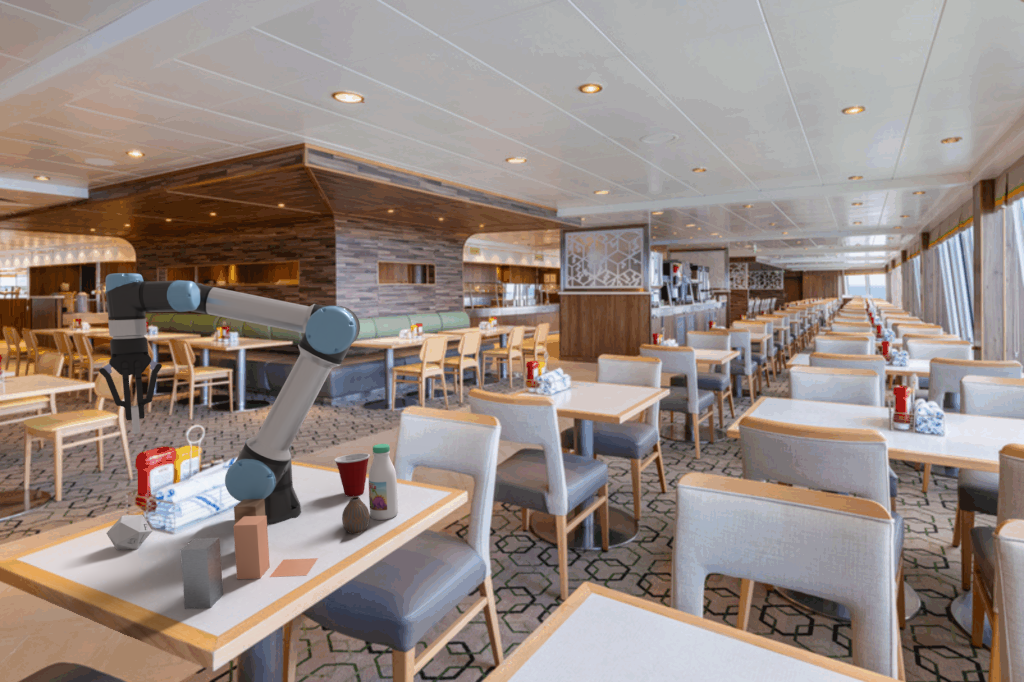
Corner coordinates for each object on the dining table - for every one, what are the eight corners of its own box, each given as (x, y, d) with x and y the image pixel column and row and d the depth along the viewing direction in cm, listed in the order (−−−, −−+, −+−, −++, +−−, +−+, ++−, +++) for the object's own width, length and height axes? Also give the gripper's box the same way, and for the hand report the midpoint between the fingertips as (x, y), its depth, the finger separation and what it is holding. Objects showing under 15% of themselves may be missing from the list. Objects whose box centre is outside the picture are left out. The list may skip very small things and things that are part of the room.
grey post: (184, 608, 108) (180, 549, 107) (198, 595, 113) (194, 538, 112) (210, 607, 108) (206, 548, 108) (223, 594, 113) (219, 537, 113)
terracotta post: (237, 579, 119) (233, 525, 118) (247, 568, 124) (243, 516, 123) (260, 578, 120) (256, 524, 119) (269, 567, 125) (266, 515, 124)
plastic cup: (361, 485, 181) (359, 449, 180) (378, 493, 173) (376, 455, 172) (330, 493, 174) (328, 456, 173) (345, 502, 166) (343, 463, 165)
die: (118, 560, 133) (145, 524, 135) (91, 541, 134) (118, 506, 137) (140, 557, 141) (165, 523, 143) (114, 539, 142) (139, 505, 144)
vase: (355, 538, 140) (353, 504, 140) (337, 532, 144) (335, 500, 143) (375, 528, 146) (374, 496, 146) (357, 523, 150) (355, 492, 149)
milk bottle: (388, 507, 161) (385, 440, 159) (403, 514, 155) (400, 445, 154) (364, 515, 155) (361, 446, 154) (379, 523, 150) (376, 450, 148)
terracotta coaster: (283, 562, 128) (283, 559, 128) (318, 561, 128) (318, 558, 128) (269, 580, 120) (269, 576, 120) (306, 578, 120) (306, 575, 120)
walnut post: (237, 556, 130) (233, 507, 129) (246, 547, 135) (243, 499, 134) (258, 555, 130) (255, 506, 129) (267, 546, 135) (264, 498, 134)
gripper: (159, 335, 141) (166, 425, 143) (95, 338, 133) (103, 434, 135) (161, 336, 135) (168, 430, 137) (95, 339, 127) (103, 440, 129)
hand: (136, 432), depth 136 cm, fingers closed
